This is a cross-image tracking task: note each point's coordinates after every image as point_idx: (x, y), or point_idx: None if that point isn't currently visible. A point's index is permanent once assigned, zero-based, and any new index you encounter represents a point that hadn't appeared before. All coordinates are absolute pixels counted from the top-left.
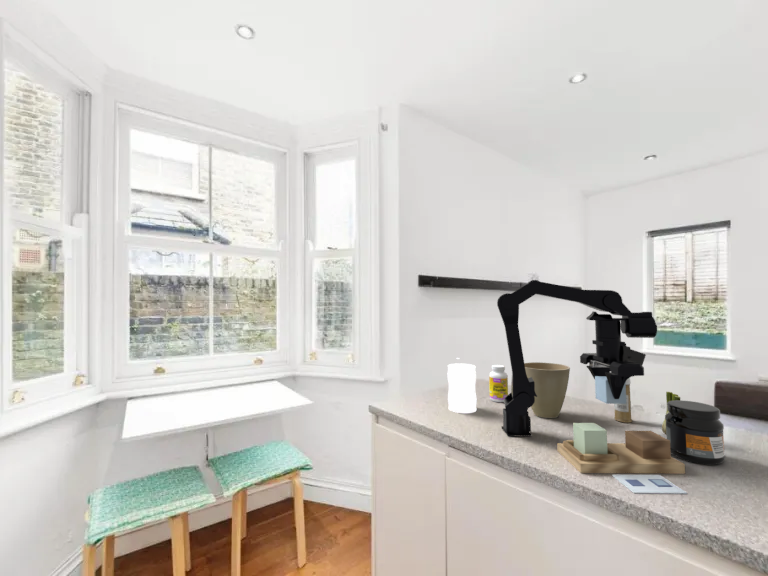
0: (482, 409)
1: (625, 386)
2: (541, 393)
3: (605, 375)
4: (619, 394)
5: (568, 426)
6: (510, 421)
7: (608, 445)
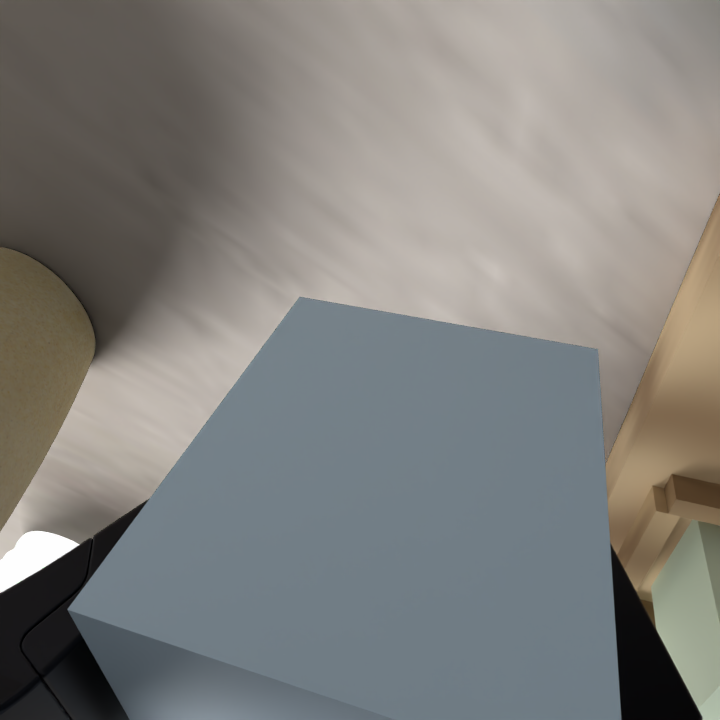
0: (53, 519)
1: (611, 605)
2: (16, 505)
3: (81, 694)
4: (620, 580)
5: (216, 312)
6: None
7: (686, 424)
